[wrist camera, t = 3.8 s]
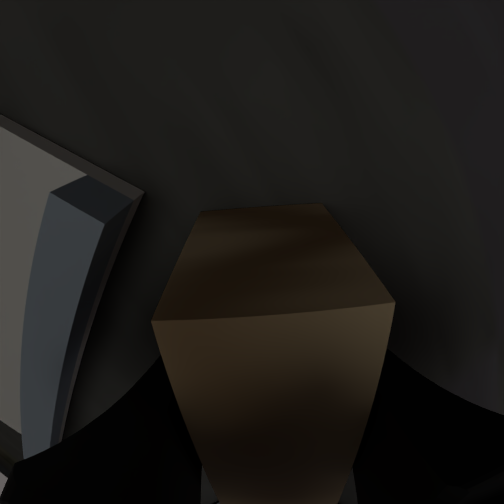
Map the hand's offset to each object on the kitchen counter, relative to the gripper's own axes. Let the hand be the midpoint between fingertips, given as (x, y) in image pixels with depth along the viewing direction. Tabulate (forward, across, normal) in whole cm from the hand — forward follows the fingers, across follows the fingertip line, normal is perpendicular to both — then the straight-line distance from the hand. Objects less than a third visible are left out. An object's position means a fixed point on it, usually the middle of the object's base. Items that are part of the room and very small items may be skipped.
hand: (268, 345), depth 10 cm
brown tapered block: (+1, 0, 0) cm, 1 cm away
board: (+1, +13, -1) cm, 13 cm away
